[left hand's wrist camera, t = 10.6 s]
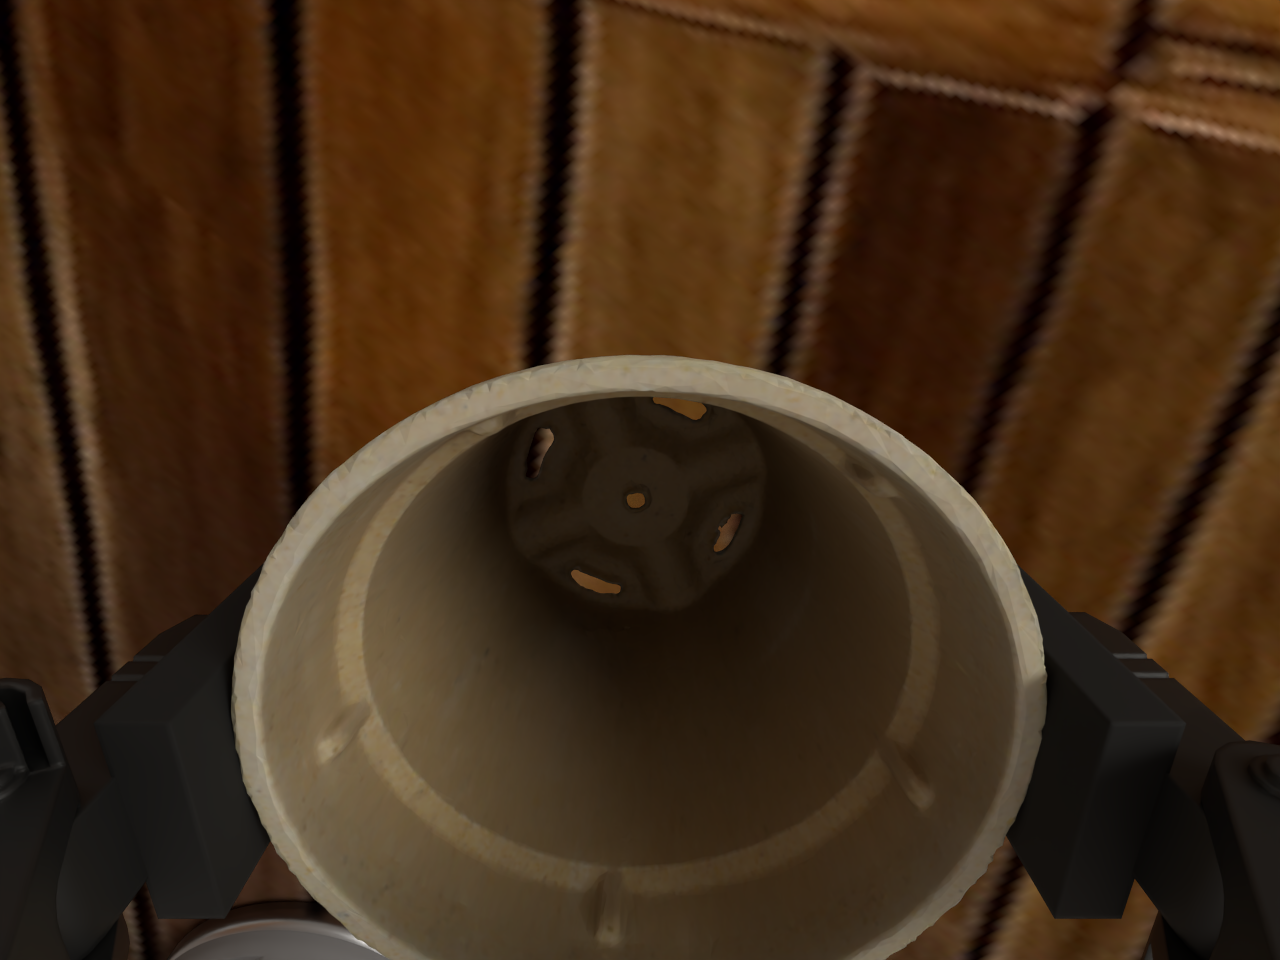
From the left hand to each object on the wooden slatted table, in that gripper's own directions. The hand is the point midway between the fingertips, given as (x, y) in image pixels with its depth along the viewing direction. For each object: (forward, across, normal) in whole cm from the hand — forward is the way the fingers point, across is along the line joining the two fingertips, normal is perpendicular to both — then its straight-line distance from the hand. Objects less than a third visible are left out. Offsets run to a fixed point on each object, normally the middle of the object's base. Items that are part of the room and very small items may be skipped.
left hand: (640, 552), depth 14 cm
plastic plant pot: (+3, 0, 0) cm, 3 cm away
